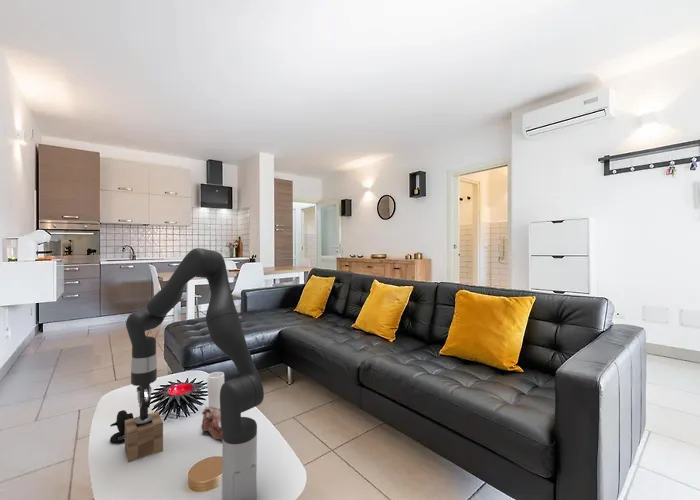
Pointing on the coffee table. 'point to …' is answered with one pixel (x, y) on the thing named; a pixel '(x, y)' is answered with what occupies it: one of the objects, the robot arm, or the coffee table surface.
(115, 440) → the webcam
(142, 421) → the pin
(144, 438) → the block
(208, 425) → the rock
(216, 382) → the drinking glass
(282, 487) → the coffee table surface
